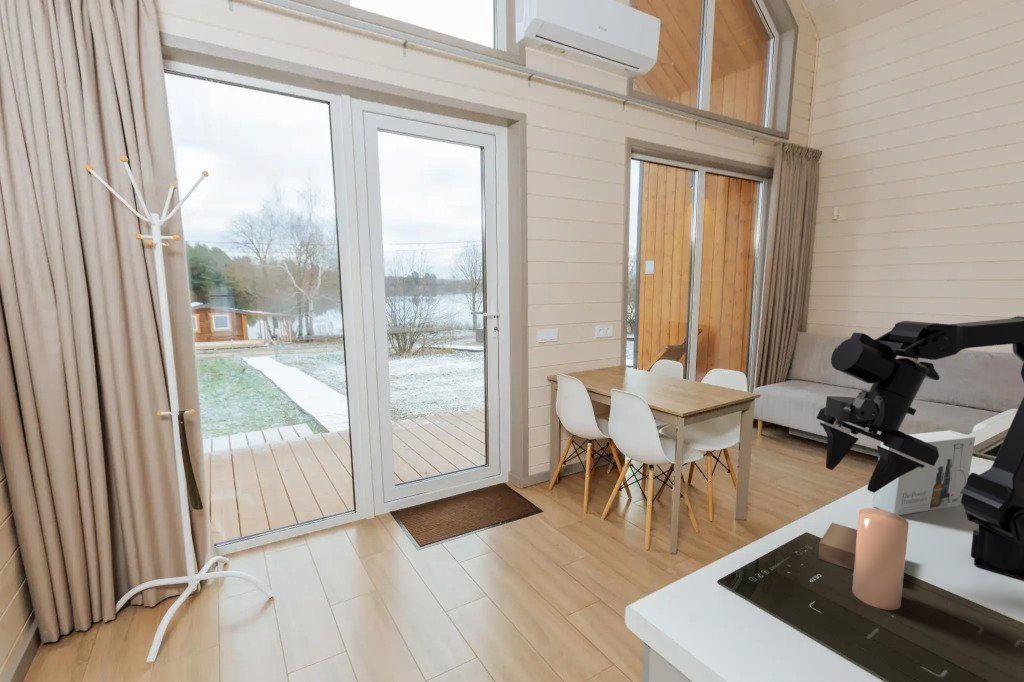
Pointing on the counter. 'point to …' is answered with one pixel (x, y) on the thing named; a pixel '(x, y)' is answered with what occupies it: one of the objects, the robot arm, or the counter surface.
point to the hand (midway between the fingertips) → (848, 479)
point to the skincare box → (930, 477)
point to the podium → (839, 546)
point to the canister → (880, 558)
